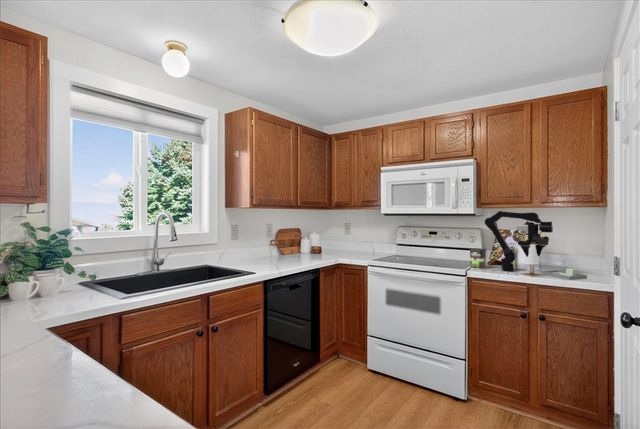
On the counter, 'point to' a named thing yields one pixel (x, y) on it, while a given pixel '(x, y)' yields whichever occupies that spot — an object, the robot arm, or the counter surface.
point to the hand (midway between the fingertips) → (532, 256)
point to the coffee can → (478, 258)
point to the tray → (551, 273)
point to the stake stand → (532, 272)
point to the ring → (568, 272)
